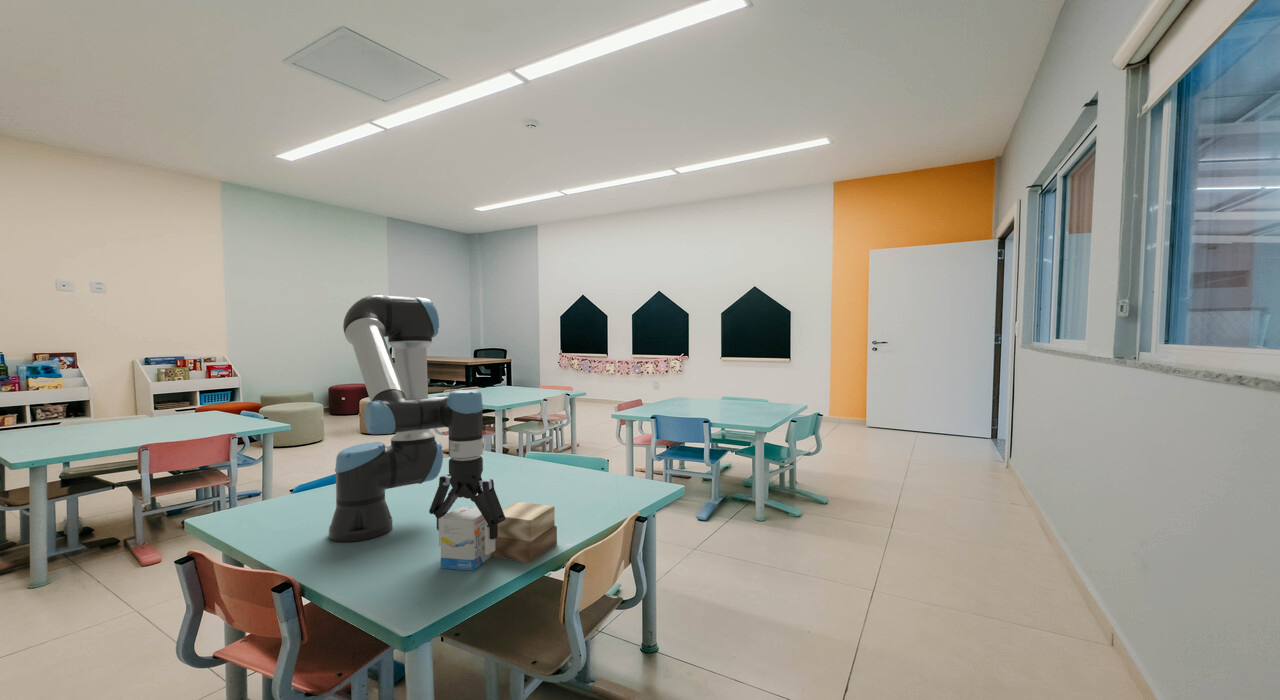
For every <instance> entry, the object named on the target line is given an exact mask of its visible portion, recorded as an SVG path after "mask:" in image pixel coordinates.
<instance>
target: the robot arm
mask: <svg viewBox="0 0 1280 700" xmlns="http://www.w3.org/2000/svg"><path fill="white" fill-rule="evenodd" d="M342 326H343V327H342V328H343V332H344V333H343V334H344V336H345V340H346V341H347V342H348V343H349V344H351V345H352V347H353V350H354V353H355V358H356V360H357V363H358V366H359V370H360V373H361V375H362V379H363V382H364V385H365V389H366V391H367V395H368V398H369V400H370V401H369V402H367V403H366V405H365V406H364V410H363V420H364V427H365V429H366V432H367V433H369V434H370V435H390V434H394V435H393V436H391V438H390V445H388V446H386V445H385V443H384V442H382V441H372V442H365V443H359V444H356V445H355V444H354V445H352V446H350V447H346V448H345V449H342V450H340V451H339V452H338V453H337V456H336V458H335V459H336V460H335V469H334V472H335V493H336V494H335V496H336V497H335V498H336V499H335V500H336V501H335V503H336V506H335V510H334V514H333V517H332V520H331V523H330V525H329V527H328V539H330V540H331V541H334V542H341V543H350V542H359V541H360V542H361V541H366V540H369V539H374V538H378V537H380V536H382V535H385V534H387V533H388V532H390V531H391V530H392V529H393V517H392V516H391V512H390V509H389V507H388V503H387V501H386V490H388V489H394V488H400V487H404V486H405V487H406V486H411V485H417V484H418V485H421V484H423V483H427V482H431V481H433V480H435V479H437V477H439V481H438V487H437V489H436V492H435V494H434V497H433V501H432V502H431V505H430V507H429V510H428V512H429V514H430V515H434V516H435V518H436V530H437V532H438V547H441V517H442V516H444V515H446V514H448V513H449V510H450V509H451V507H453V505H454V503H455V502H456V501H457V500H458V498H460V499H461V498H463V499H470V501H471V502H473V503H474V504H475V505H476V506H475V507H478V509H479V511H480V512H481V514H482V515H483V517H484V519H485V520H486V522H487V523H488V525H486V526H485V555H489V554H490V553H492V552H494V551H495V538H497V536H498V524H499V523H500V522H502V521H504V520H505V515H504V513H503V510H502V509H503V508H502V506H501V503H500V500H499V497H498V495H497V493H496V490H495V482H494V480H493V478H489V479H487V480H486V479H485V480H483V478H482V473H483V472H484V458H483V456H482V455H483V454H484V439H483V424H484V423H483V415H484V414H483V409H484V405H483V394H482V392H481V391H479V390H475V389H460V390H452V391H450V392H449V393H448V394H445V395H444V394H440V395H437V396H432V397H431V396H430V397H429V391H428V390H429V389H428V388H429V387H428V383H429V382H428V355H427V353H428V352H427V349H428V347H429V346H430V345H431V344H432V343H433V338H434V337H437V335H438V334H439V329H440V319H439V314H438V310H437V307H436V306H435V304H434V302H432V300H431V299H428V298H425V297H418V296H403V295H401V296H400V295H382V294H380V295H379V294H373V295H368V296H365V297H362V298H361V299H359V300H357V301H356V302H355V303H354V304H352V305H351V307H350V308H348V310H347V312H346V313H345V316H344V319H343V325H342ZM385 338H387V342H388V343H387V342H386V339H385ZM388 344H389V346H390V347H392V348H393V350H394V359H393V358H392V355H391V353H390V350H389V347H388ZM393 360H394V361H393ZM440 428H442V429H443V428H448V429H447V430H448V457H449V458H450V459H448V474H444V475H442V476H439V474H440V473H441V470H442V467H443V461H444V451H443V445H442V443H441V442H440V440H437V439H436V438H435V437H436V434H434V433H433V432H432V431H431V429H440ZM450 486H451V489H450ZM449 489H450V490H449ZM448 491H449V492H448ZM446 496H447V497H446ZM491 518H492V519H491Z"/></svg>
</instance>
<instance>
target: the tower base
mask: <svg viewBox="0 0 1280 700" xmlns="http://www.w3.org/2000/svg"><path fill="white" fill-rule="evenodd" d="M557 528H558V526H557V525H555V526H554V527H552V528H551V529H549V530H548V531H546V532H545V533H543V534H542V535H540V536H539V537H537V538H536V539H534V540H533V541H531V542H529V541H523V540H516V539H509V538H503V537H497V538H495V551H494V552H492V553H491V557H493V556H494V558H499V557H500V559H504V558H506V559H507V560H510V559H511V561H515V560H516V562H522V563H528V564H531V563H533V562H534V561H535V560H537V559H538V558H539V557H541V556H542V555H544V554H545V553H546V552H548V551H549V550H551V549H552V548H554V547H555V546H556V545H557V544H558V532H557V531H558V529H557Z"/></svg>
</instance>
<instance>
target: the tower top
mask: <svg viewBox="0 0 1280 700" xmlns="http://www.w3.org/2000/svg"><path fill="white" fill-rule="evenodd" d="M502 510H503V513H504V515H505V520H504V521H502V522H500V523H499V524H498V536H497V537H503V538H509V539H516V540H523V541H529V542H531V541H533V540H534V539H536V538H537V537H539V536H540V535H542V534H543V533H545V532H546V531H548V530H549V529H551V528H552V527H554V526H556V525H555V524H556V523H555V522H556V521H555V518H556V517H555V505H549V504H540V503H531V502H524V501H523V502H522V501H516V502H514V503H512V504H510V505H508V506H507V507H504V508H502ZM491 519H492V518H491Z"/></svg>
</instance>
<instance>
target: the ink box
mask: <svg viewBox="0 0 1280 700" xmlns="http://www.w3.org/2000/svg"><path fill="white" fill-rule="evenodd" d="M447 513H448V514H445V515H444V516H442V517H441V546H440V569H447V570H448V569H449V570H459V571H468V572H469V571H470V572H471V571H472V572H475V571H476V570H477V569H478V568H479V567H480V566H481V565H482V564H484V563H485V562H486V561H487V560H488V559H490V557H492V556H491V553H490V554H489V555H485V526H486V525H488V523H487V522H486V520H485V519H484V517H483V515H482V514H481V512H480V511H479V509H478V507H477V506H460V507H458V508H455V509H454V510H452V511H450V512H447Z"/></svg>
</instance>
